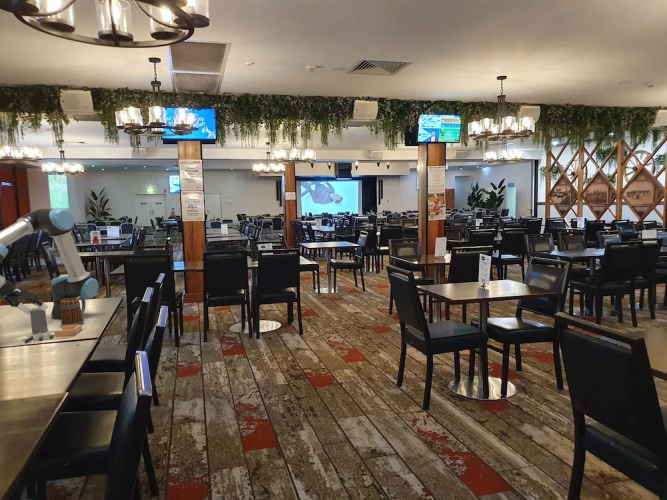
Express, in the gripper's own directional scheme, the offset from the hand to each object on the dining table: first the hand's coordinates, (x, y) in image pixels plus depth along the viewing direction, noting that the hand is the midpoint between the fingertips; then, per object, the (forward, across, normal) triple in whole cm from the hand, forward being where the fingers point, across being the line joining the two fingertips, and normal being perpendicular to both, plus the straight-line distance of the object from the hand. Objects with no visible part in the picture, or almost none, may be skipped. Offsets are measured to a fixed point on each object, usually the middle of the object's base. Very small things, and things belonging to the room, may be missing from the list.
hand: (38, 310), depth 238 cm
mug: (+23, -4, +6) cm, 24 cm away
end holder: (+14, +10, -6) cm, 19 cm away
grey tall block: (+9, -6, -6) cm, 13 cm away
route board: (+12, +4, -9) cm, 15 cm away
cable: (+6, +6, -14) cm, 16 cm away
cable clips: (+7, +6, -13) cm, 16 cm away
